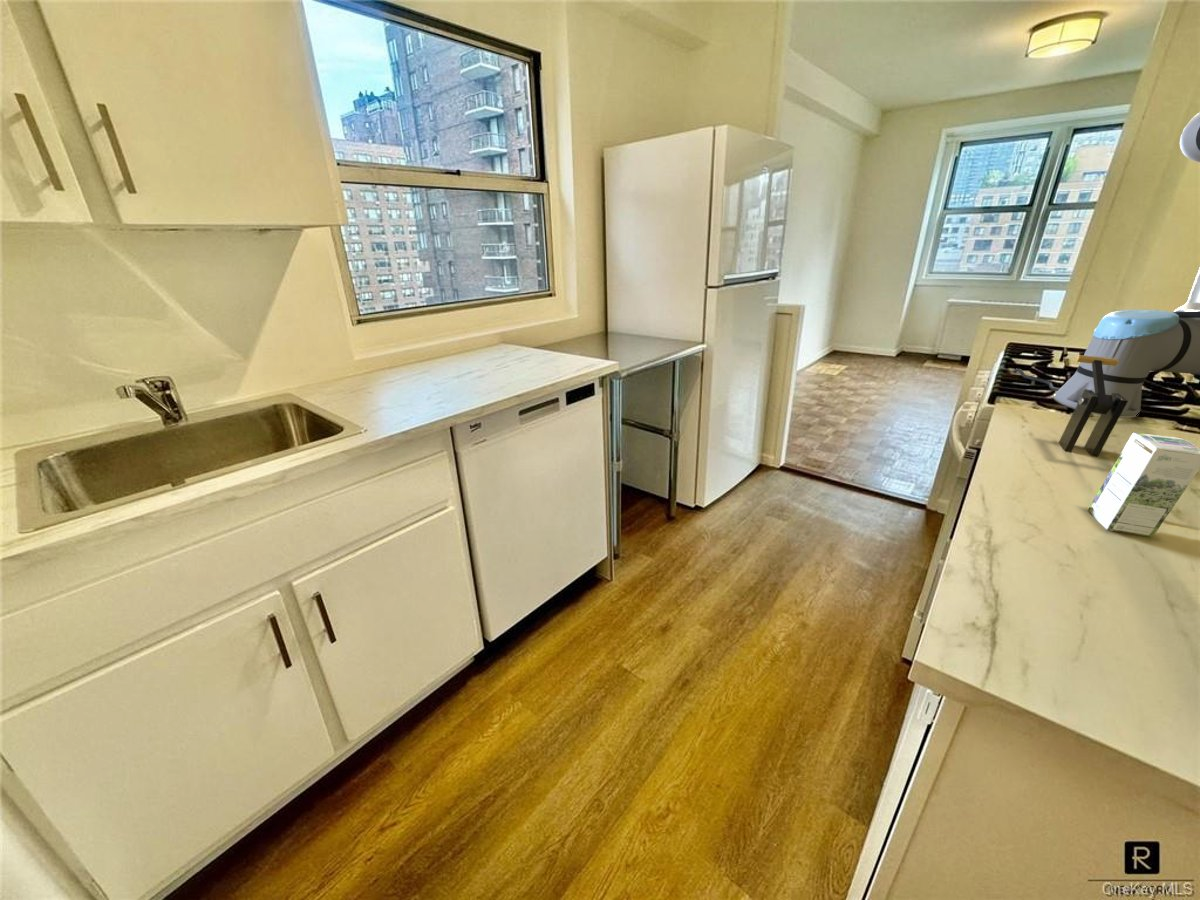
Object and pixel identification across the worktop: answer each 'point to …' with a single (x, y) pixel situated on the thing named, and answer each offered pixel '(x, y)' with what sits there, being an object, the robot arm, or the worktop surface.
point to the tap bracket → (1101, 427)
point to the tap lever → (1099, 381)
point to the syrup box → (1145, 483)
